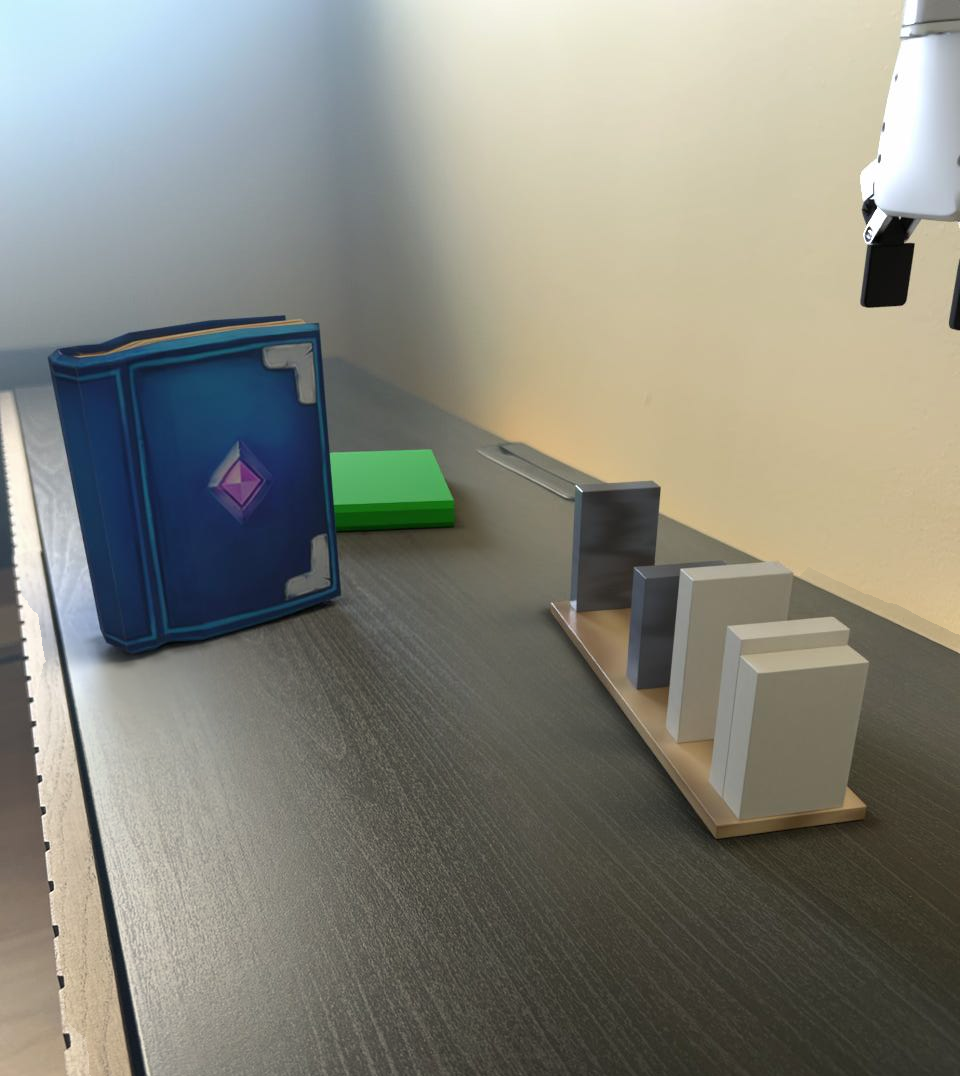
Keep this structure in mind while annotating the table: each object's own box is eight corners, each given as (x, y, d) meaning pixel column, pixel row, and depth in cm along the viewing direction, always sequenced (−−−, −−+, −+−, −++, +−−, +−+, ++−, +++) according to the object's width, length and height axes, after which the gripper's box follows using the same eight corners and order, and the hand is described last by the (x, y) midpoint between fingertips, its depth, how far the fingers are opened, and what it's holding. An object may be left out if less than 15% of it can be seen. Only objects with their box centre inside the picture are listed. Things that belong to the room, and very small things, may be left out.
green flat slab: (208, 480, 133) (206, 456, 131) (431, 472, 137) (431, 449, 135) (192, 539, 112) (189, 512, 111) (454, 527, 116) (454, 501, 115)
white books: (808, 770, 69) (833, 616, 65) (843, 807, 65) (872, 646, 61) (708, 782, 68) (726, 625, 63) (739, 820, 64) (760, 656, 59)
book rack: (655, 603, 97) (665, 476, 92) (864, 819, 66) (898, 645, 61) (550, 612, 95) (555, 483, 90) (715, 839, 64) (737, 661, 59)
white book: (757, 718, 76) (778, 560, 71) (771, 733, 74) (794, 572, 69) (665, 728, 74) (680, 568, 69) (677, 744, 72) (693, 580, 67)
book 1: (116, 669, 84) (67, 348, 74) (83, 640, 89) (32, 335, 79) (346, 603, 97) (332, 320, 86) (306, 581, 102) (287, 311, 91)
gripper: (1147, -13, 53) (1073, 335, 61) (939, 22, 69) (900, 296, 76) (1017, -14, 52) (957, 343, 59) (834, 22, 67) (804, 302, 75)
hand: (925, 316), depth 68 cm, fingers open, 9 cm apart
